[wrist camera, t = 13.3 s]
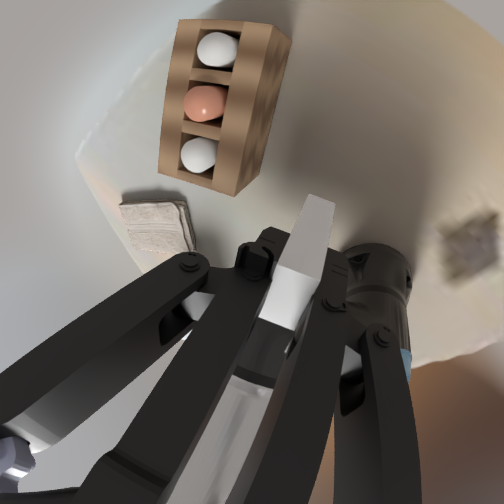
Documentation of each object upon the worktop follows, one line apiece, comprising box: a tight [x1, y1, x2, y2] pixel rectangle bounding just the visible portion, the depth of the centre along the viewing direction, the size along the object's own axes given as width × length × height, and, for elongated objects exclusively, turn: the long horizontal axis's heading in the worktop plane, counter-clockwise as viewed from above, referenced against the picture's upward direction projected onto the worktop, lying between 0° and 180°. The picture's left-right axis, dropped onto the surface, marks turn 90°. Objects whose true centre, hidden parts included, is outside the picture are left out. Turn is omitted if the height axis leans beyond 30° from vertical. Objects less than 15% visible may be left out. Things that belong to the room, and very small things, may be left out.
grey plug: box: [197, 32, 240, 69], centre depth 28 cm, size 4×4×9 cm
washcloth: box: [119, 199, 196, 254], centre depth 54 cm, size 12×18×3 cm, turn 98°
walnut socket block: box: [158, 19, 292, 197], centre depth 32 cm, size 22×12×10 cm, turn 167°
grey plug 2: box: [181, 136, 219, 173], centre depth 36 cm, size 4×4×9 cm
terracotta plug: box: [183, 86, 229, 122], centre depth 31 cm, size 4×4×9 cm
